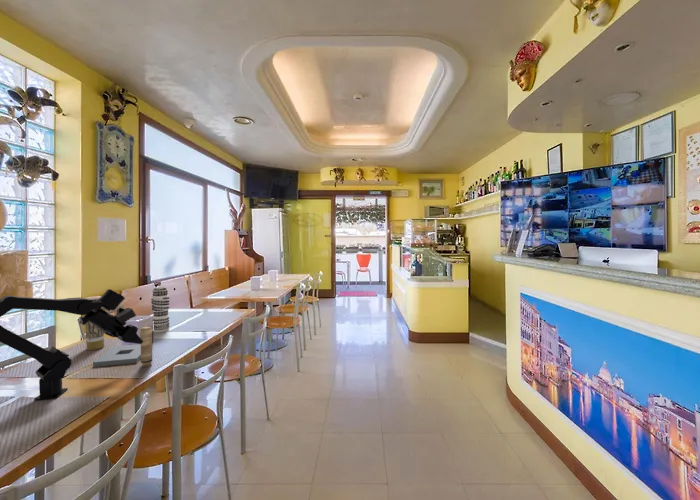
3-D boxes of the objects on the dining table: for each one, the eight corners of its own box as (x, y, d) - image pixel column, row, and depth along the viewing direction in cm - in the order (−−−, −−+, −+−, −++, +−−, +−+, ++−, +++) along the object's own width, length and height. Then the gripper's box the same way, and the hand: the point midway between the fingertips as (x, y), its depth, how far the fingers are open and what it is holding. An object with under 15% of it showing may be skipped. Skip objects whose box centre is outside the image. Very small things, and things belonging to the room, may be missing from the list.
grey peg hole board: (136, 362, 138) (136, 358, 138) (93, 366, 134) (92, 362, 134) (151, 347, 157) (151, 343, 157) (114, 350, 153) (113, 346, 153)
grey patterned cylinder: (94, 351, 152) (92, 298, 151) (82, 350, 153) (81, 298, 152) (107, 346, 159) (106, 296, 158) (96, 345, 160) (94, 295, 159)
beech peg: (150, 366, 134) (149, 329, 134) (139, 367, 133) (138, 329, 132) (153, 362, 138) (152, 326, 137) (143, 363, 137) (142, 327, 136)
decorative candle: (168, 326, 193) (167, 285, 191) (171, 330, 185) (170, 287, 184) (150, 329, 187) (149, 287, 186) (153, 333, 180) (152, 289, 178)
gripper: (131, 305, 122) (162, 327, 132) (110, 300, 132) (140, 320, 142) (107, 331, 116) (142, 352, 125) (87, 323, 126) (120, 343, 136)
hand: (136, 340), depth 132 cm, fingers open, 9 cm apart
